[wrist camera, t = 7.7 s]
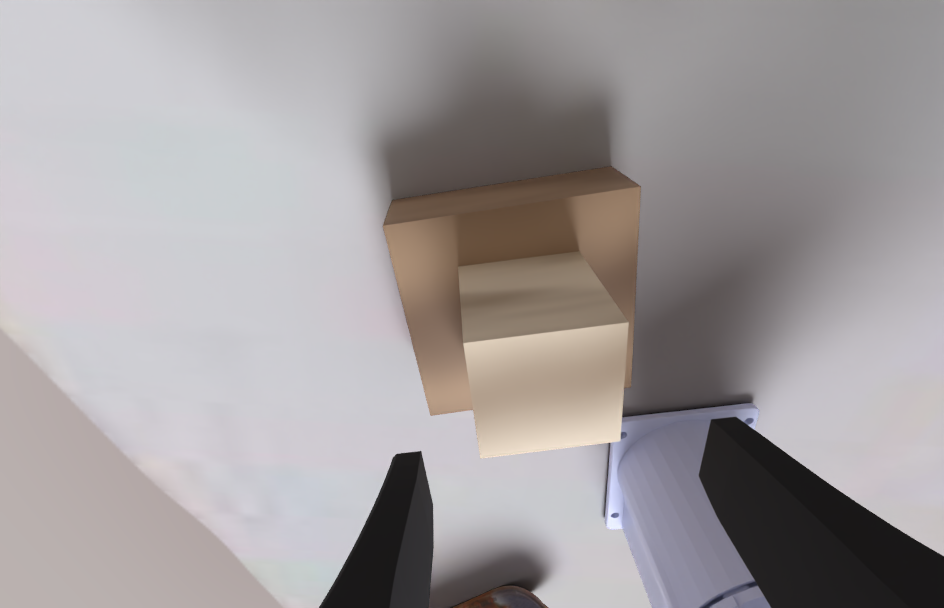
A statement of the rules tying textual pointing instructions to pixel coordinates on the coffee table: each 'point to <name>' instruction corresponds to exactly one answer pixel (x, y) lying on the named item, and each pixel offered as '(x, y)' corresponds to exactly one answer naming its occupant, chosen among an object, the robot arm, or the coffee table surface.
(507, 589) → the tin
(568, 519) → the coffee table surface
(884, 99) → the coffee table surface
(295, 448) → the coffee table surface
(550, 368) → the maple cube
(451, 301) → the tan flat block
